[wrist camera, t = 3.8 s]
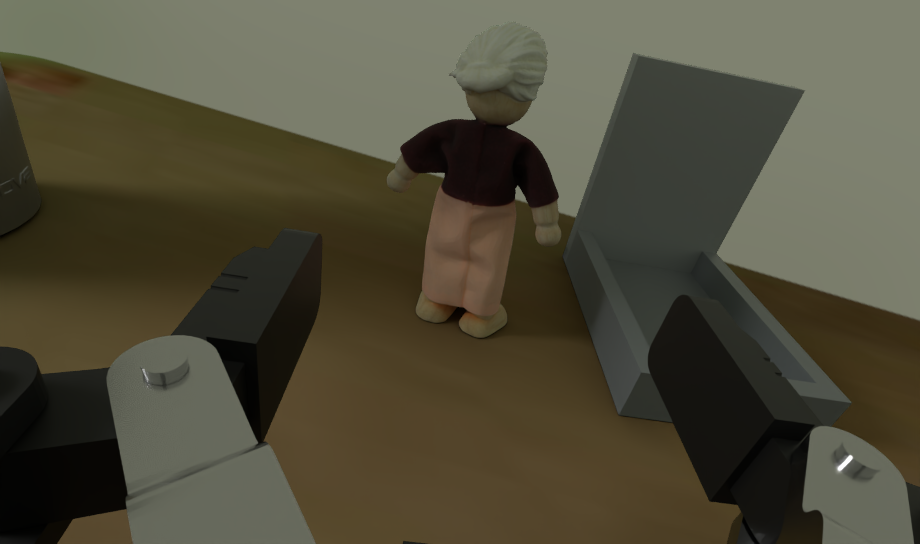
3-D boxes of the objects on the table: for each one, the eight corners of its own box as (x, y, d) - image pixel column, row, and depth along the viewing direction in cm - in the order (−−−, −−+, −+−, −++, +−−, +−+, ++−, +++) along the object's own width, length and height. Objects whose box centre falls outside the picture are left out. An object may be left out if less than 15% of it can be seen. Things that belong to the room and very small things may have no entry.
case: (618, 415, 19) (775, 118, 13) (562, 256, 30) (633, 52, 24) (817, 442, 20) (1055, 175, 14) (692, 278, 31) (794, 87, 25)
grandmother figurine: (527, 305, 25) (612, 40, 18) (525, 353, 21) (628, 51, 15) (384, 271, 25) (416, -3, 18) (360, 314, 22) (389, -2, 15)
